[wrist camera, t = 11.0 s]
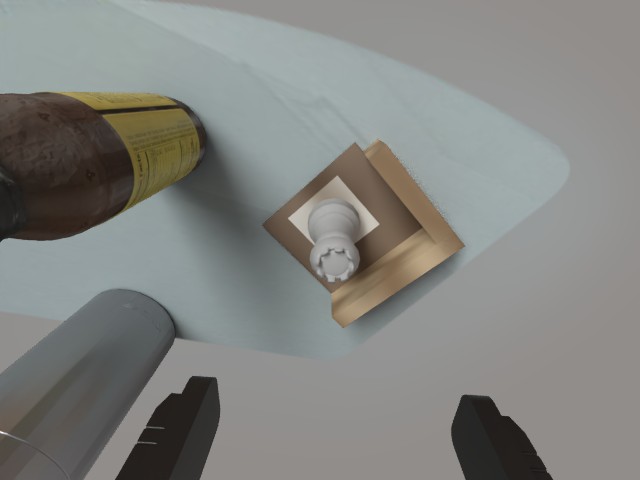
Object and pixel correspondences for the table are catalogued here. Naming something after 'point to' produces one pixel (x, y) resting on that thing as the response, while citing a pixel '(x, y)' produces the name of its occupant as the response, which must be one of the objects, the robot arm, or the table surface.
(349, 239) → the rook chess piece
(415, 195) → the wooden tray
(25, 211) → the sauce bottle
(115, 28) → the table surface
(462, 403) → the robot arm
